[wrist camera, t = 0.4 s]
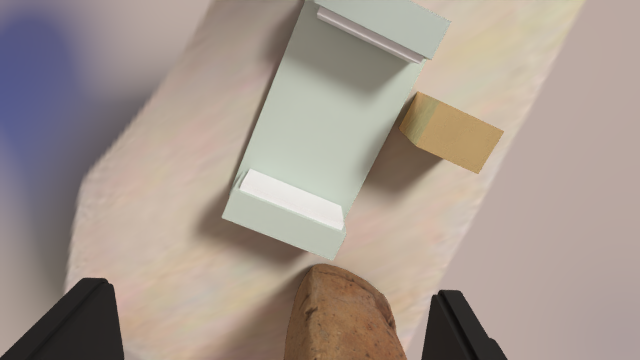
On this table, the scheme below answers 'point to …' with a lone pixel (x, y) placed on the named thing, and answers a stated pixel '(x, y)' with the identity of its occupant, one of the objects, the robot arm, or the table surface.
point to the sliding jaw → (388, 25)
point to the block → (340, 319)
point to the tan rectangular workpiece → (449, 132)
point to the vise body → (318, 135)
